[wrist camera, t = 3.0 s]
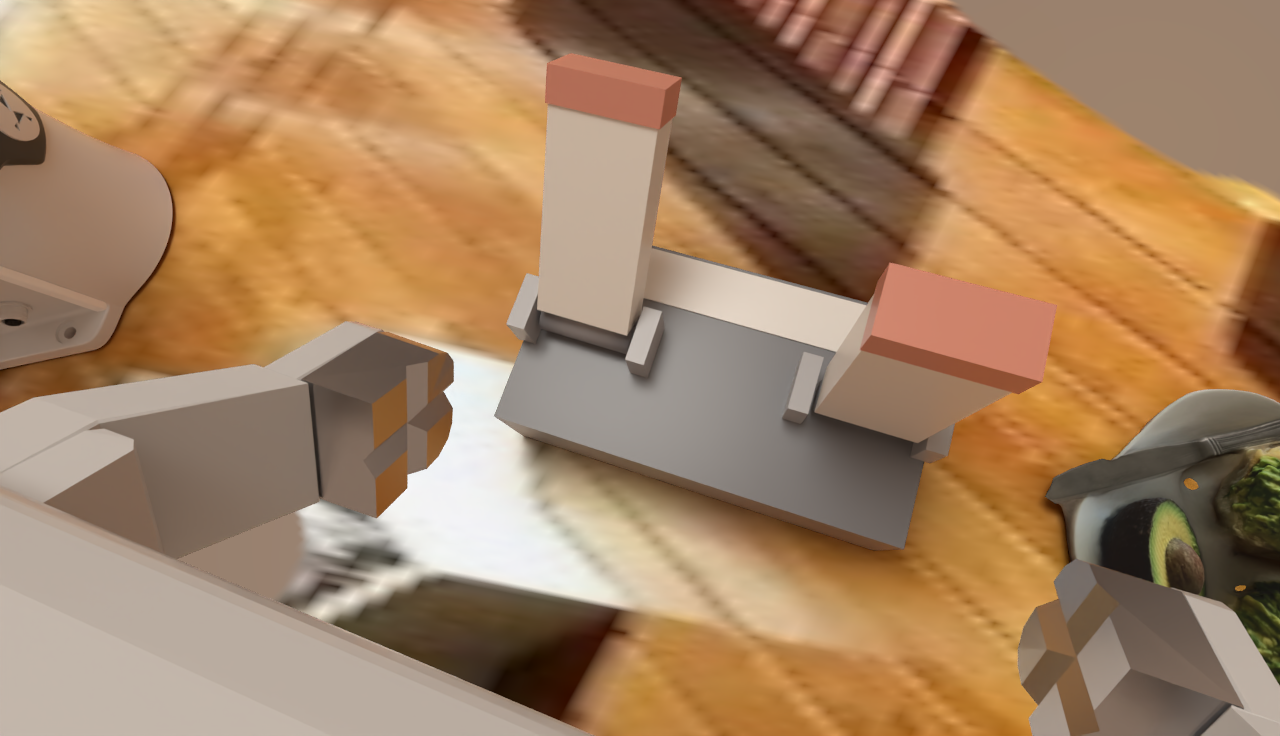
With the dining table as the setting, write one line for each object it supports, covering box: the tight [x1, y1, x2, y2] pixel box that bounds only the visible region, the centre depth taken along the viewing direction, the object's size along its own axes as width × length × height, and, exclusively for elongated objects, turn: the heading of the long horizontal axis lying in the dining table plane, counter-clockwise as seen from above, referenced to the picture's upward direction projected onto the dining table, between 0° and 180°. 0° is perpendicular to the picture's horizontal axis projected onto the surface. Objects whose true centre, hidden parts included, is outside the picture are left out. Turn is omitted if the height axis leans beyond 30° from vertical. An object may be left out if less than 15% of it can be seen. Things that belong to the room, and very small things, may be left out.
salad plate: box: [1045, 389, 1280, 685], centre depth 35 cm, size 19×18×5 cm
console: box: [494, 246, 955, 551], centre depth 38 cm, size 12×23×8 cm, turn 71°
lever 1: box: [537, 53, 682, 354], centre depth 33 cm, size 3×5×14 cm
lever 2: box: [812, 263, 1057, 443], centre depth 28 cm, size 3×5×14 cm, turn 71°
